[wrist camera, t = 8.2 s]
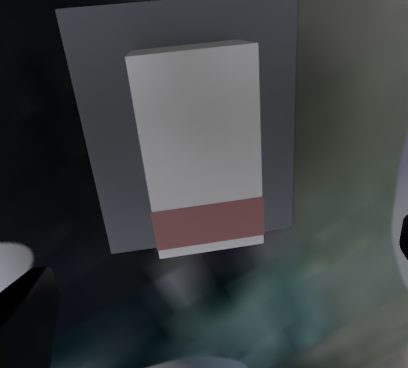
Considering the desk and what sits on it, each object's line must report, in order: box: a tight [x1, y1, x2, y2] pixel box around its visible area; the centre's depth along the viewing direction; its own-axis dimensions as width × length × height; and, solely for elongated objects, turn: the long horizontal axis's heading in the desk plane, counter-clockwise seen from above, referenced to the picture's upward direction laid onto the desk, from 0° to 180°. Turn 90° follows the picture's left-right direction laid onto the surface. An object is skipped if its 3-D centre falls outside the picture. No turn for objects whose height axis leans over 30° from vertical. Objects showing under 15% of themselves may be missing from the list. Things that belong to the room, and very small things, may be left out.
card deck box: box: [125, 40, 265, 259], centre depth 17 cm, size 5×9×4 cm, turn 5°
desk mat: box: [55, 0, 298, 254], centre depth 19 cm, size 13×11×1 cm
